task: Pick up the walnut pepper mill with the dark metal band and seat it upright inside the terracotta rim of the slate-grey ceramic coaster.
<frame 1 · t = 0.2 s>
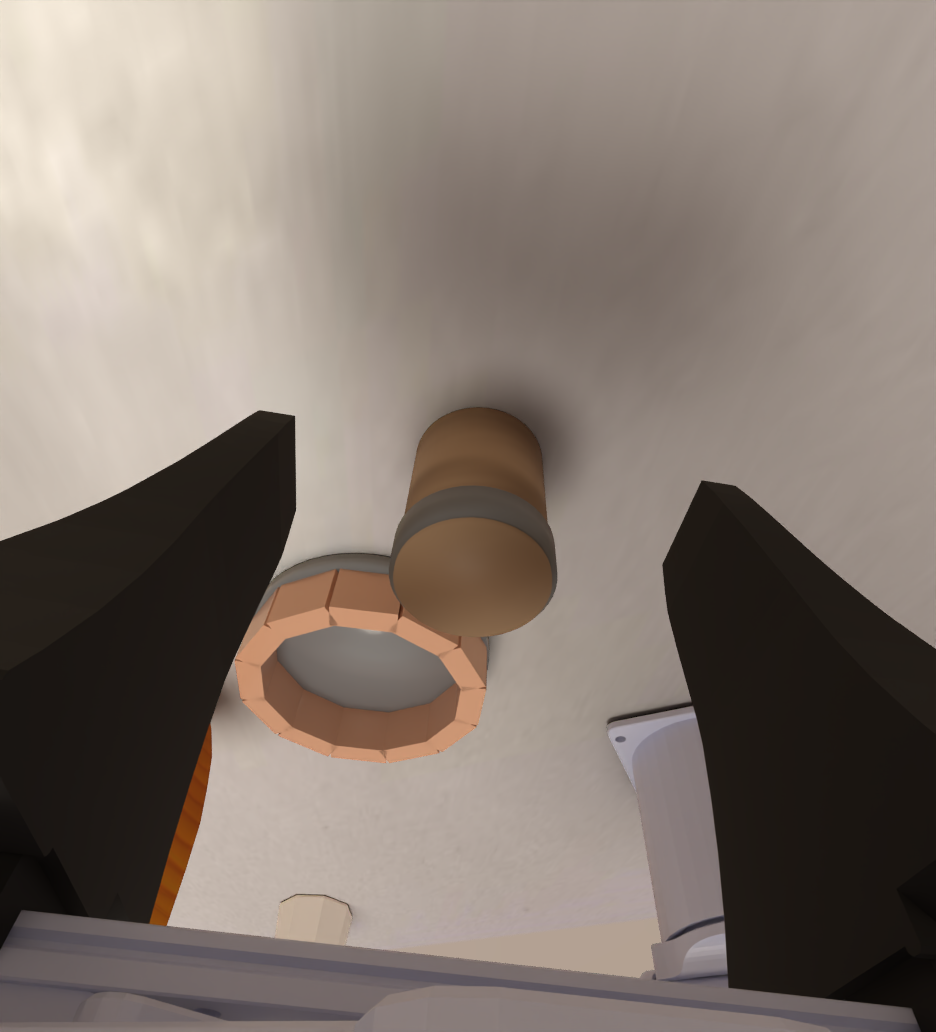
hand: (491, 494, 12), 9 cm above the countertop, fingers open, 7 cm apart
walnut pepper mill: (478, 463, 23), on the countertop
carrot: (199, 690, 32), on the countertop
salt shaker: (317, 905, 48), on the countertop
coaster: (371, 641, 29), on the countertop
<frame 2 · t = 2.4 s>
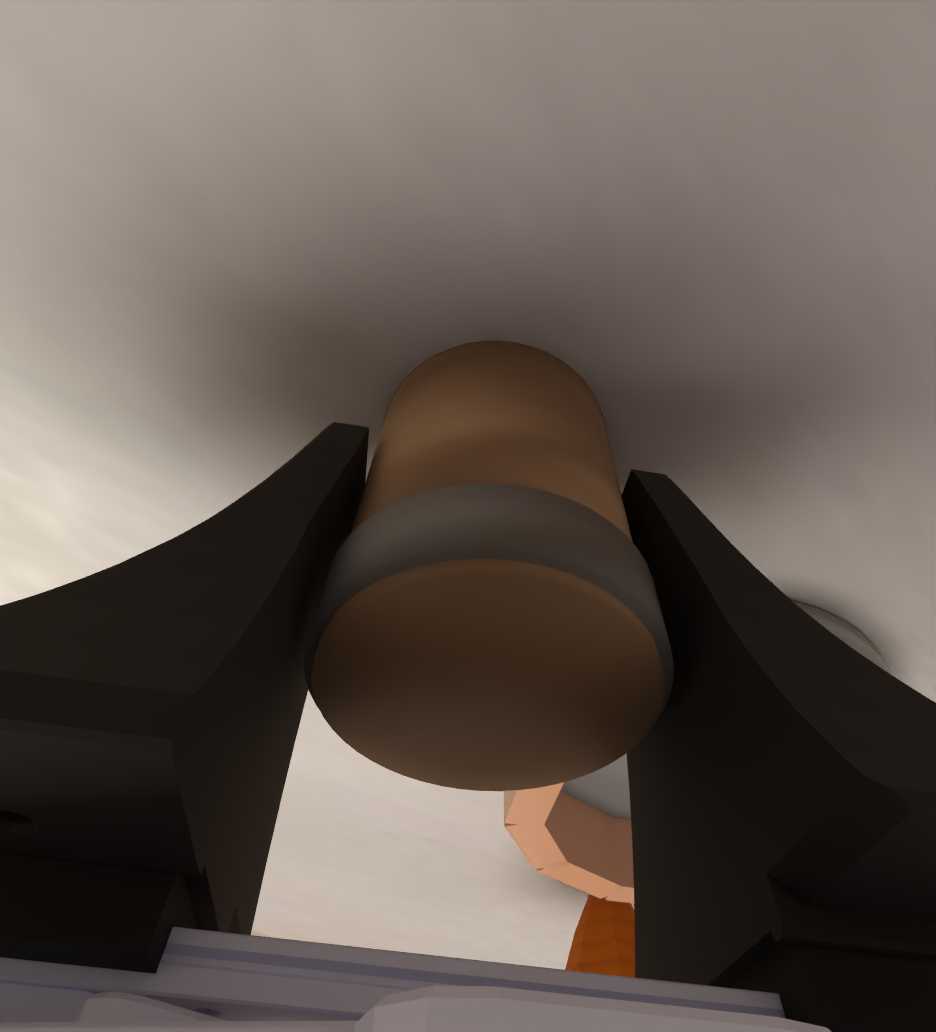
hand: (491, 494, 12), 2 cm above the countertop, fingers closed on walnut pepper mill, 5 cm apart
walnut pepper mill: (493, 446, 13), on the countertop, touching gripper
carrot: (604, 872, 25), on the countertop
coaster: (687, 724, 18), on the countertop
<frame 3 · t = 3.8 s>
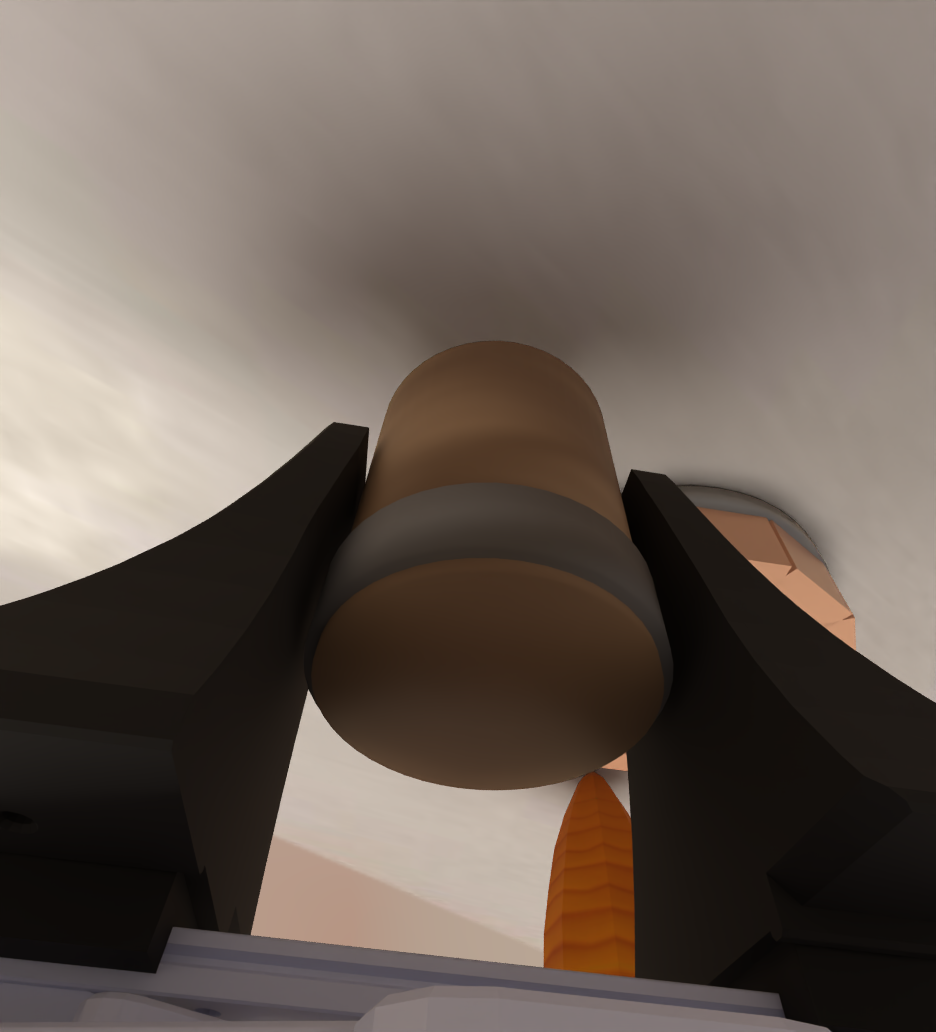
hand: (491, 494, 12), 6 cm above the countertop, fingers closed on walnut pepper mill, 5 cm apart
walnut pepper mill: (492, 446, 13), point 4 cm above the countertop, touching gripper
carrot: (591, 768, 28), on the countertop
coaster: (657, 613, 22), on the countertop
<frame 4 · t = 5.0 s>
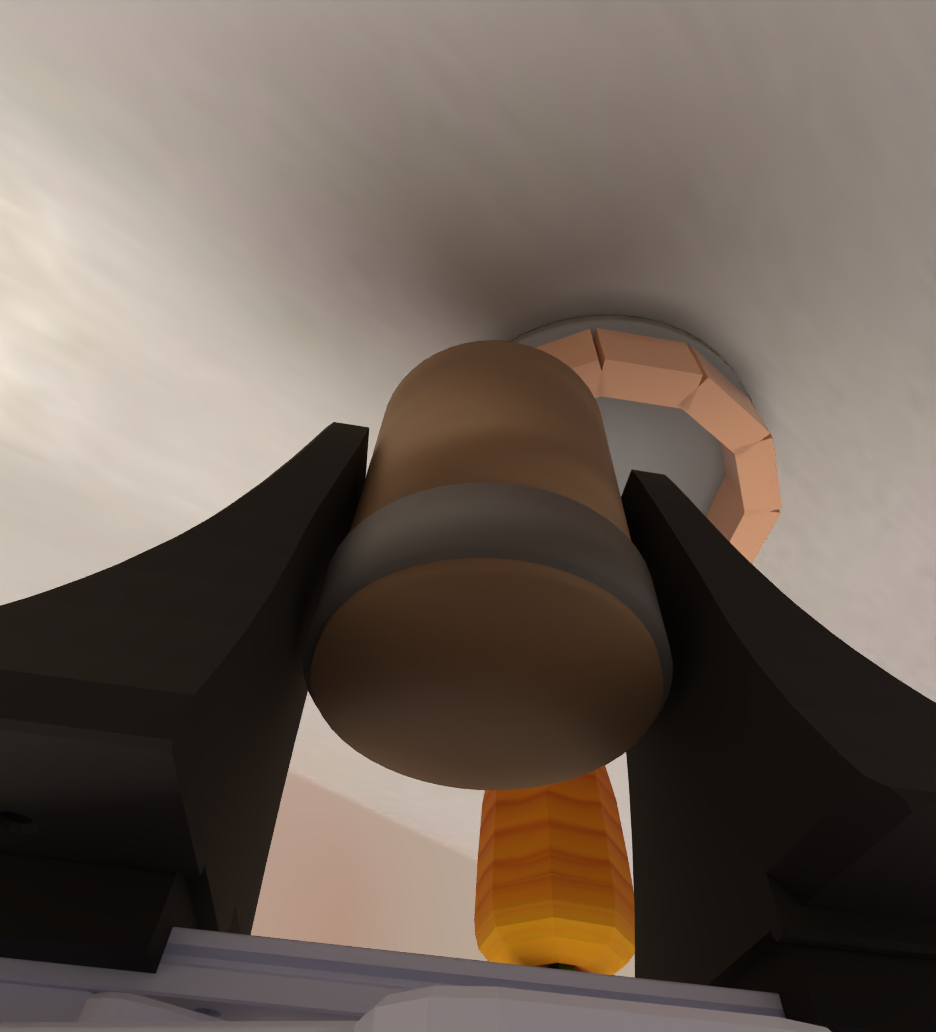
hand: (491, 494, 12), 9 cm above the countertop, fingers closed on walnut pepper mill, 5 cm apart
walnut pepper mill: (492, 445, 13), point 7 cm above the countertop, touching gripper
carrot: (540, 658, 28), on the countertop
coaster: (589, 468, 21), on the countertop
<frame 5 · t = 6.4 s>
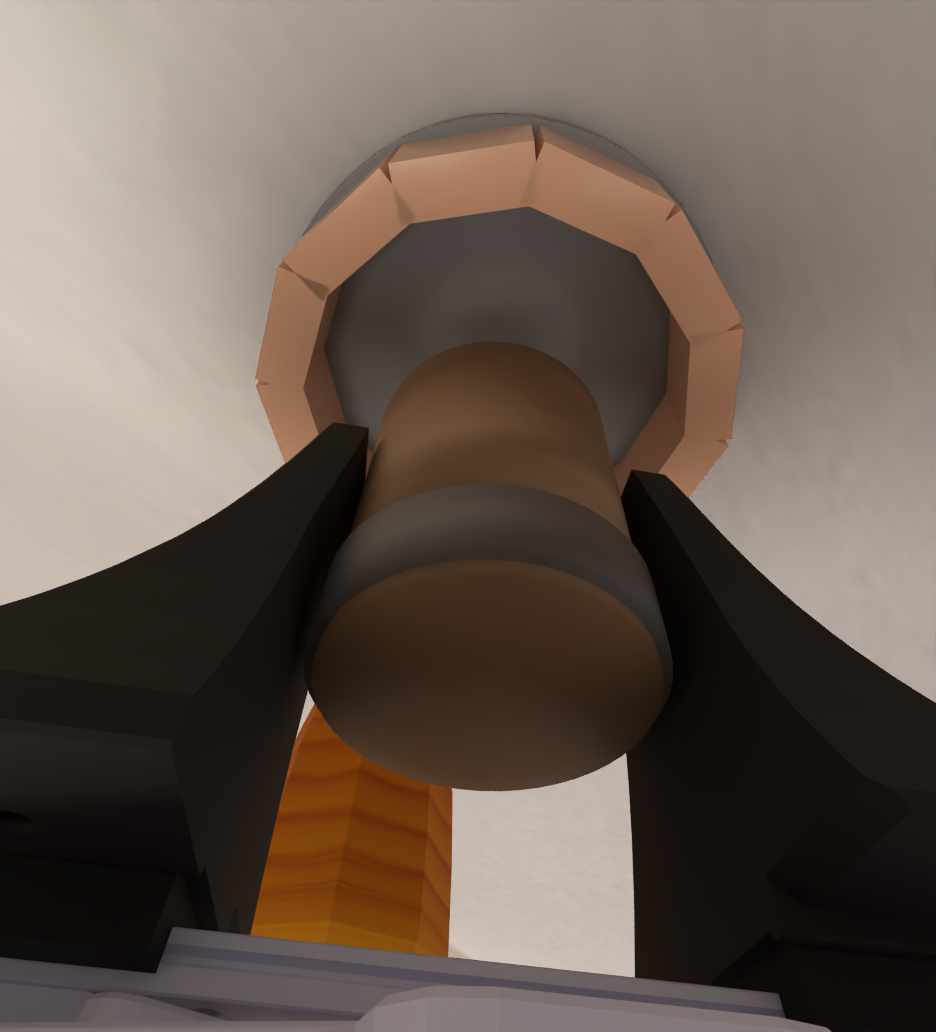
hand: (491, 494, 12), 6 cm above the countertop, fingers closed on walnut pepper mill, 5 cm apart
walnut pepper mill: (491, 446, 13), point 4 cm above the countertop, touching gripper
carrot: (397, 610, 22), on the countertop
coaster: (497, 357, 16), on the countertop
when the fingers open (3 cm above the countertop, at t = 7.8 s): walnut pepper mill stays where it is, resting on coaster.
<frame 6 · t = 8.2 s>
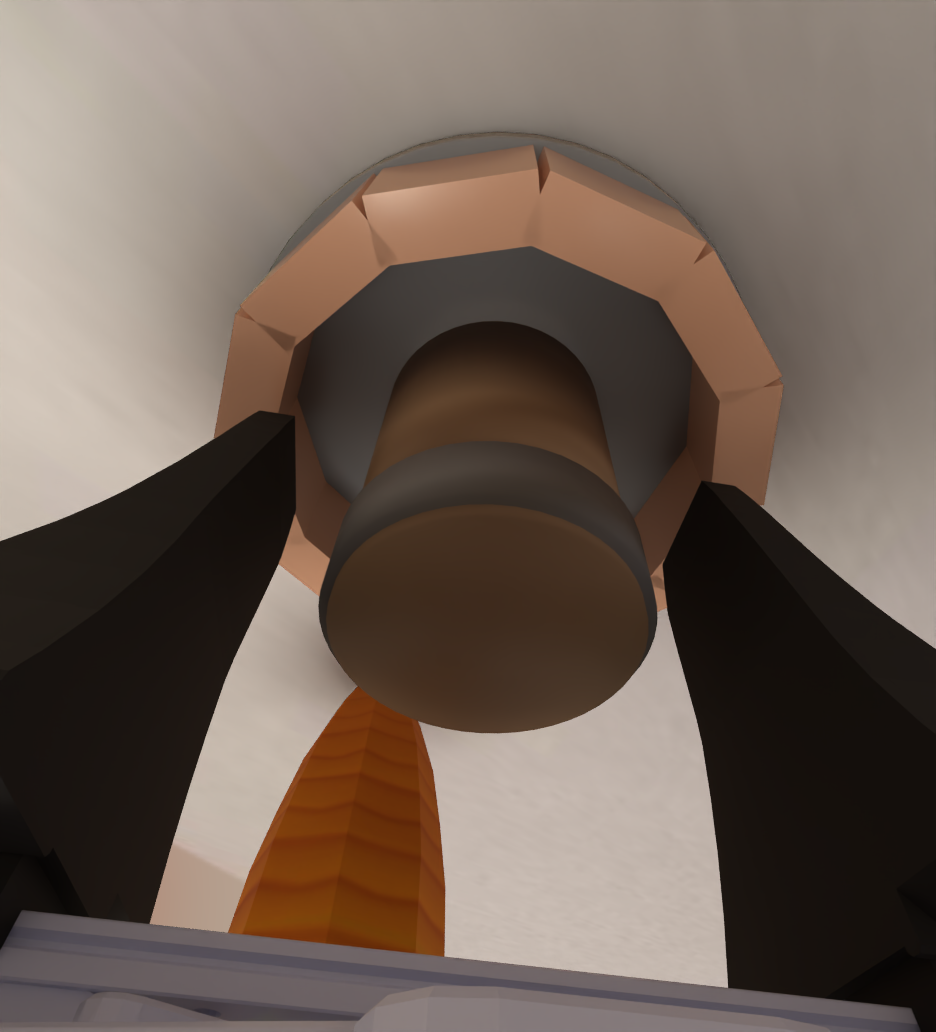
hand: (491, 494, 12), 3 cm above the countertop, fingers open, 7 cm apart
walnut pepper mill: (493, 422, 14), point 1 cm above the countertop, touching coaster
carrot: (386, 666, 20), on the countertop
coaster: (494, 403, 14), on the countertop
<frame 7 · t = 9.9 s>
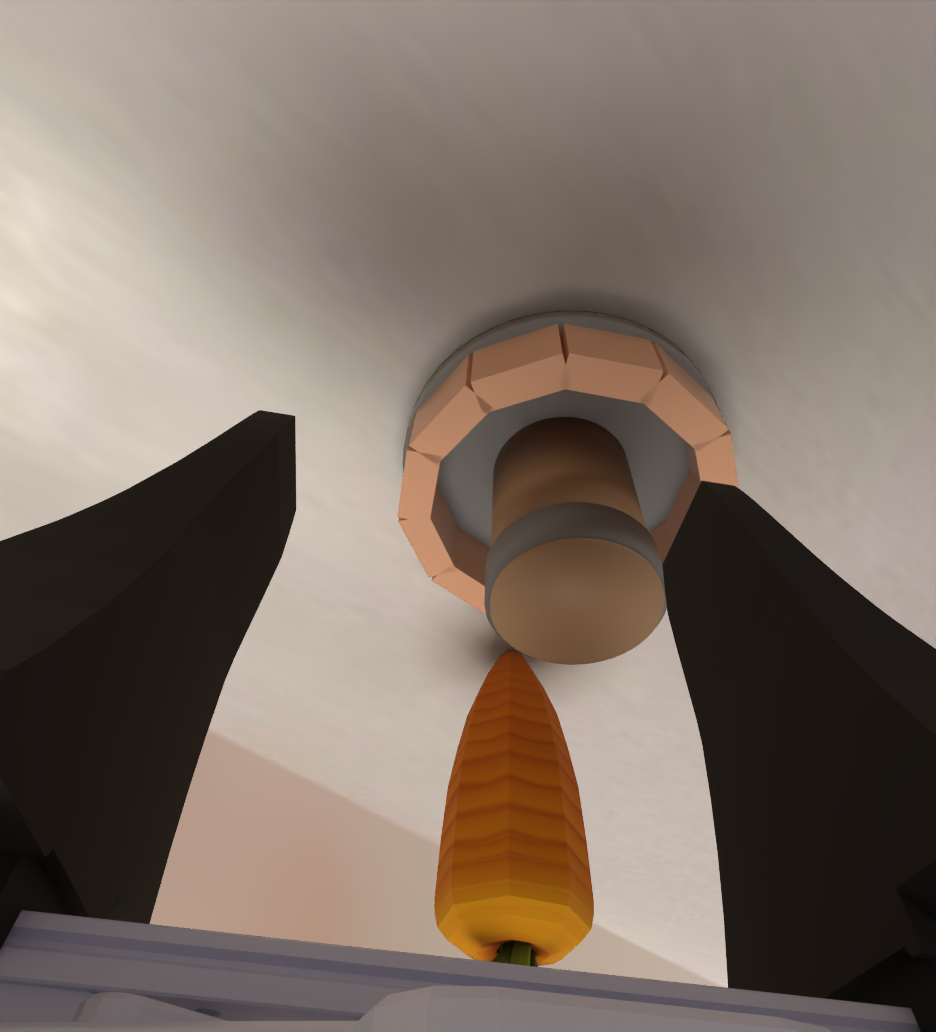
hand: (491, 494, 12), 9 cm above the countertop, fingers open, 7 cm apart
walnut pepper mill: (560, 475, 21), point 1 cm above the countertop, touching coaster
carrot: (511, 649, 28), on the countertop
coaster: (559, 462, 22), on the countertop
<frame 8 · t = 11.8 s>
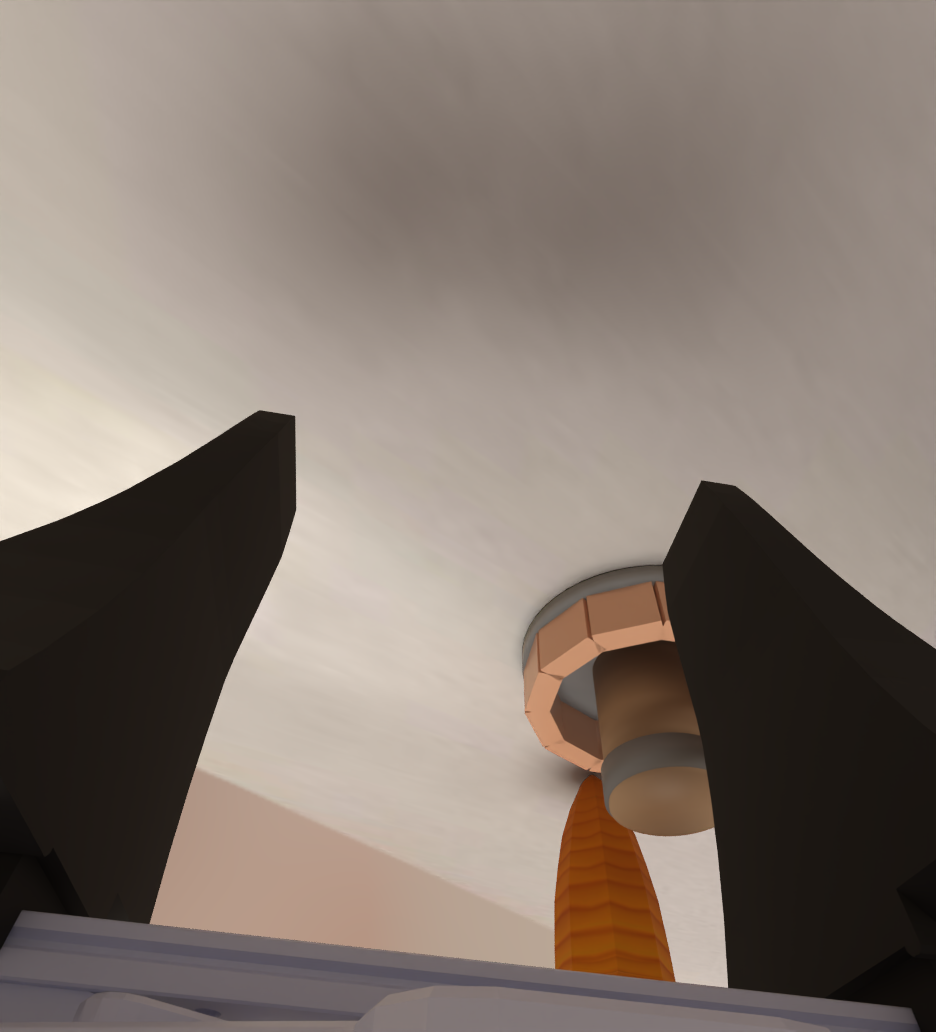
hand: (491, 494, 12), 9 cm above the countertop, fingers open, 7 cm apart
walnut pepper mill: (644, 669, 28), point 1 cm above the countertop, touching coaster
carrot: (591, 772, 34), on the countertop
coaster: (642, 654, 28), on the countertop
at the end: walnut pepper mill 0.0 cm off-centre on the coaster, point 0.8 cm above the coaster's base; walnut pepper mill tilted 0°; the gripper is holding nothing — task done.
